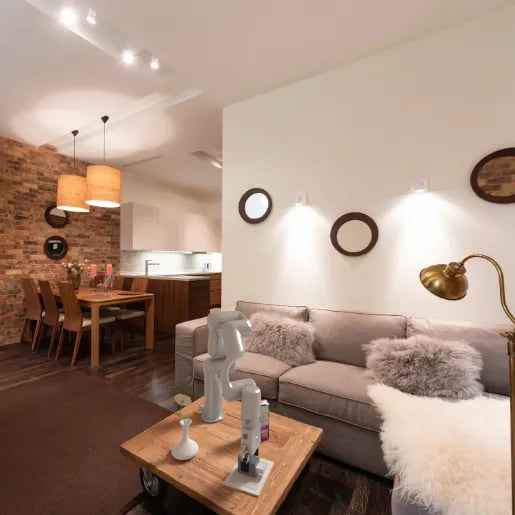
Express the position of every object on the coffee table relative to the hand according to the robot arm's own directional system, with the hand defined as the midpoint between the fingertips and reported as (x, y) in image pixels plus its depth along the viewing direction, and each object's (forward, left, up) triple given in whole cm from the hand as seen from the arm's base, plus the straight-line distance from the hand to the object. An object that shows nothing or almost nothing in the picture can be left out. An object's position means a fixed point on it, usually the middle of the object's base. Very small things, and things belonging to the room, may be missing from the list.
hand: (249, 463), depth 113 cm
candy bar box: (-6, +22, -4) cm, 23 cm away
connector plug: (0, 0, -3) cm, 3 cm away
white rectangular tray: (0, 0, -4) cm, 4 cm away
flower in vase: (-31, 0, -4) cm, 31 cm away
